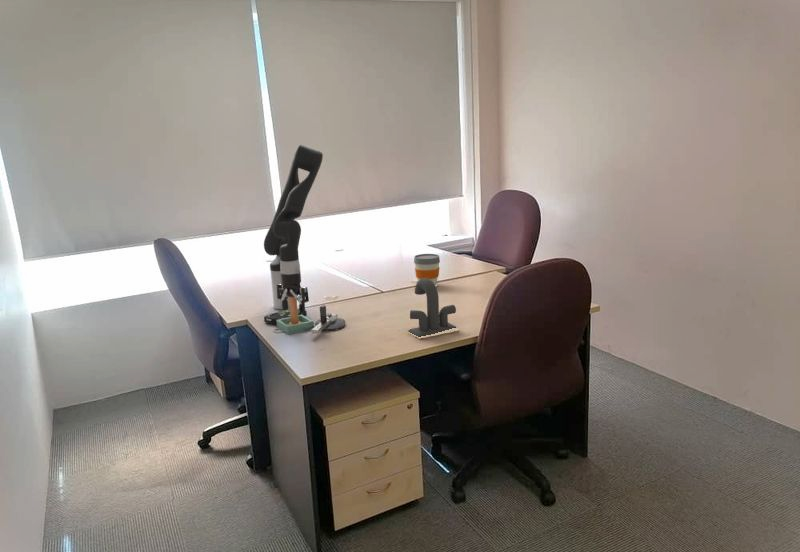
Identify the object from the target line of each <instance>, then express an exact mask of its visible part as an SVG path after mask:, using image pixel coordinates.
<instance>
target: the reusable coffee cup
mask: <svg viewBox="0 0 800 552" xmlns="http://www.w3.org/2000/svg"><path fill="white" fill-rule="evenodd" d="M413 257H414V259H413V263H414V265H415V266H414V273H415V278H416V279H417V282H418V281H419V280H420V279H423V278H427V279H430V280H431V281H432V282H433V283H434V284H435V285H436V284H437V285H438V278H439V275H440V262H441V259H440V255H439V254H434V253H421V254H416V255H414V256H413Z"/></svg>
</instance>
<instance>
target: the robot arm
mask: <svg viewBox="0 0 800 552" xmlns="http://www.w3.org/2000/svg"><path fill="white" fill-rule="evenodd" d="M323 158H324V154H323V152H321V151H320V150H317V149H315V148H313V147H309V146H308V145H304V144H299V145H298V146H297V147H296V149H295V151H294V153H293V157H292V160H291V165H290V169H289V172H288V177H287V179H286V182H285V185H284V188H283V190H282V193H281V196H280V198H279V202H278V205H277V209H276V211H275V213H274V216H273V220H272V222H271V225H270V227H269V228H268V231H267V233H266V235H265V238H264V241H263V249H264V251H265V253H266V254H267V255H269V256H275V258H274V259H273V260H272V261H271V262H270V264H269V268H270V269H269V270H270V272H269V273H270V279H271V289H272V290H271V291H272V300H273V301H272V302H273V303H272V304H273V309H276V310H287V309H288V308H290V305H289V297H295V299H296V300H297V303H298V309H299V312H300V313H303V312H305V310H306V303H309V302H310V300H309V299H310V298H309V291H308V286H305V287H303V286H301V283H302V273H301V264H300V259H299V257H300V256H299V245H300V241H301V240H300V239H301V234H302V228H301V227H302V226H301V225H300V223H299V222H298V221H297V220H296V219H298V218H300V217H301V215H302V214H303V210H304V206H305V204H306V200H307V198H308V195H309V193H310V191H311V188H312V187H313V184H314V183H315V180H316V178H317V175H318V173H319V170H320V168H321V165H322V162H323ZM299 170H303V171H306V172H308V175H307V176H306V177H305V179H303V180H302V181H301V182H300V179H299Z"/></svg>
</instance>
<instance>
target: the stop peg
mask: <svg viewBox="0 0 800 552" xmlns="http://www.w3.org/2000/svg"><path fill="white" fill-rule="evenodd" d="M289 305H290V317H291V322H290V323H289V326H290V325H295V324H299V323H301V322H299V320H298V309H299V307H298V301H297V300H296V299H295V297H289Z"/></svg>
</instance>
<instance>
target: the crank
mask: <svg viewBox="0 0 800 552" xmlns="http://www.w3.org/2000/svg"><path fill="white" fill-rule="evenodd" d="M319 317H320V319H319V320H321V323H319V324H318V325H317V326H316V327H315V326H314V328H313V329H310V332H311V335H318V334H319V333H321V332H323V331H322V330H323V329H324V328H325V327H327V326H328V325H329V324H332V323H335V322H336V318H339V317H338V313H327V306H326V305H324V304H323V305H322V304H321V305H319Z"/></svg>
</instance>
